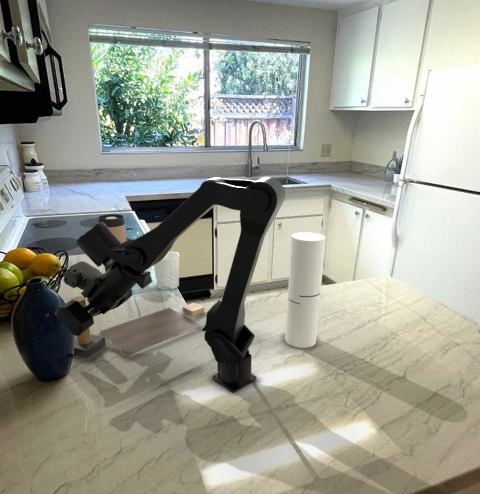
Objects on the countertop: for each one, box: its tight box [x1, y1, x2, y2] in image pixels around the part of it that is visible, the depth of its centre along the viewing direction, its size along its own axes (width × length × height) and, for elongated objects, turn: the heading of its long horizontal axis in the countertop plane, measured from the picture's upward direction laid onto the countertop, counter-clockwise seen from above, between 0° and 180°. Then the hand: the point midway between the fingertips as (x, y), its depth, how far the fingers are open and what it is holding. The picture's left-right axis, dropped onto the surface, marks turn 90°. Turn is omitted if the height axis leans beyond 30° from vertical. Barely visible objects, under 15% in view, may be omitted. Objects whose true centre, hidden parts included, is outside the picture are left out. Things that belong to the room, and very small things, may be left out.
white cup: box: [153, 250, 180, 290], centre depth 123 cm, size 8×8×10 cm
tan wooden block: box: [182, 302, 205, 317], centre depth 105 cm, size 4×4×2 cm
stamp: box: [70, 295, 107, 359], centre depth 86 cm, size 6×6×13 cm
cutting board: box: [98, 307, 202, 356], centre depth 97 cm, size 14×20×1 cm
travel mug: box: [98, 213, 127, 273], centre depth 127 cm, size 8×8×20 cm
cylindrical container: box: [284, 231, 327, 349], centre depth 90 cm, size 7×7×25 cm
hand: (77, 324), depth 86 cm, fingers open, 9 cm apart
